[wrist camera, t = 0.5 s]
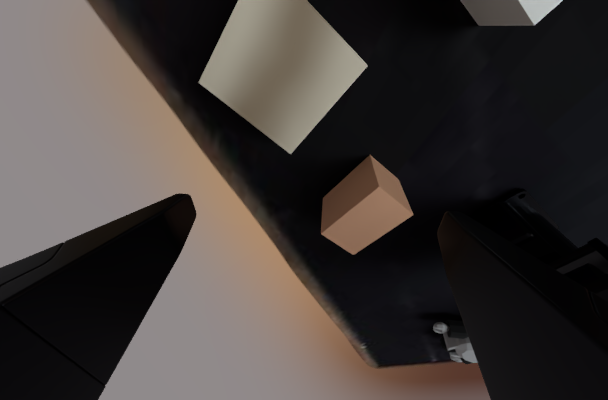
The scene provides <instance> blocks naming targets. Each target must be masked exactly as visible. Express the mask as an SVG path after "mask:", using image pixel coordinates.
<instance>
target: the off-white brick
mask: <svg viewBox="0 0 608 400" xmlns="http://www.w3.org/2000/svg"><path fill="white" fill-rule="evenodd" d="M460 1H461V2H462V4H463V5H464V6H465V8H466V9H467V10H468V12H469V13H470V14H471V16H472V17H473V19H474V20H475V21H476V23H477V24H478V25H479V26H512V25H535V24H537V23H538V22H539V21H540V20H541V19H542V18H543V17H545V16H546V15H547V14H548V13H549V12H550V11H551V10H552V9H554V8H555V7H556V6H557V5H558V4H559V3H560V2H562V1H563V0H460Z"/></svg>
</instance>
